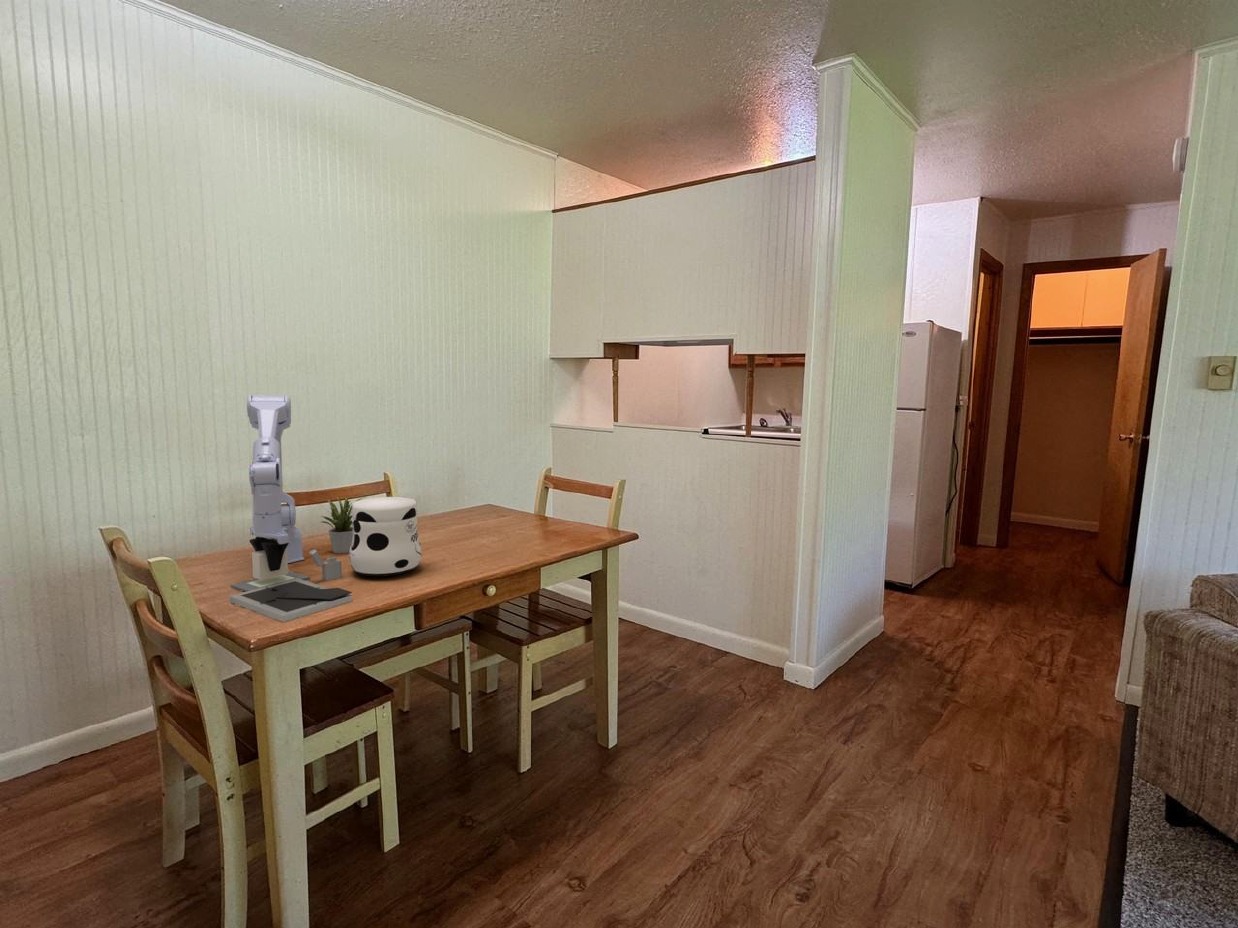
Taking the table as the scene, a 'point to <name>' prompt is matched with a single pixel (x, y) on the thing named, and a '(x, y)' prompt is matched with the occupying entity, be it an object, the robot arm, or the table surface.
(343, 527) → the house plant
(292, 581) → the picture frame
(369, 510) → the milk container
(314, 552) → the lighter
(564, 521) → the table surface
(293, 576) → the mat
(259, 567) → the beige rectangular block
